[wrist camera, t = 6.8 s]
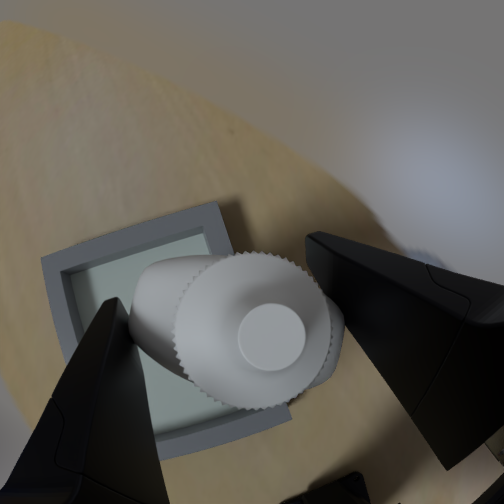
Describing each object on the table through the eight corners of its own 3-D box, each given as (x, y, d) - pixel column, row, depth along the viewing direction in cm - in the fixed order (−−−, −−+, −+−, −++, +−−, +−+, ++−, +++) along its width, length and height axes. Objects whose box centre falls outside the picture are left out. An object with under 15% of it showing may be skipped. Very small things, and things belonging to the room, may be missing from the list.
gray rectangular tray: (283, 410, 18) (292, 419, 16) (117, 457, 16) (110, 469, 14) (215, 212, 20) (216, 200, 18) (53, 263, 18) (40, 257, 16)
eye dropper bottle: (240, 394, 14) (314, 569, 2) (153, 315, 14) (-19, 295, 3) (300, 327, 15) (503, 331, 3) (215, 250, 15) (221, 63, 4)
